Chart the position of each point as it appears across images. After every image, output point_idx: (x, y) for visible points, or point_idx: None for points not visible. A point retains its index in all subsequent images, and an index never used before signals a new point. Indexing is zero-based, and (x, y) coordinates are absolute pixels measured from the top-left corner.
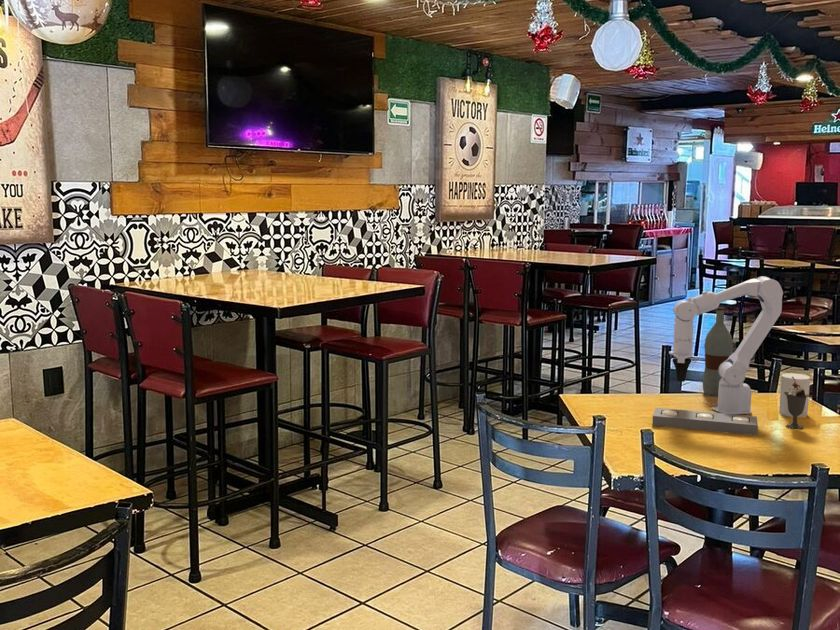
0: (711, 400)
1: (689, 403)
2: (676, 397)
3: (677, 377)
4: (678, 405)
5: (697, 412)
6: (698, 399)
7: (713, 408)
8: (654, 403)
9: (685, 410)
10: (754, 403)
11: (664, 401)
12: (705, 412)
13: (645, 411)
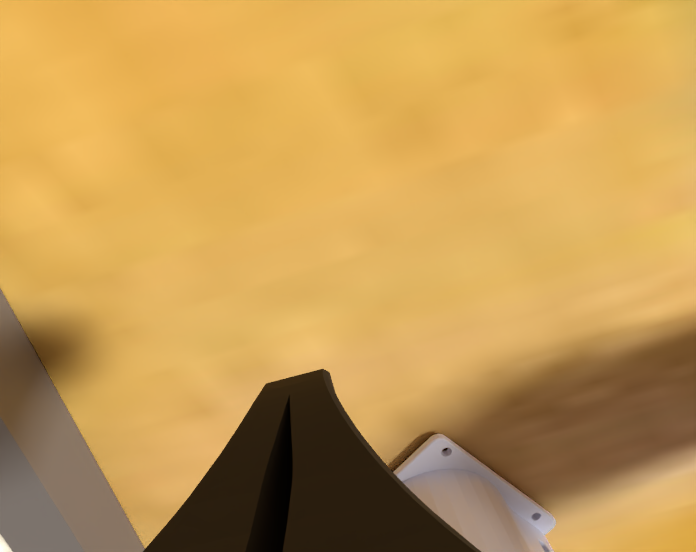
0: (673, 362)
1: (532, 270)
2: (684, 127)
3: (246, 421)
4: (433, 221)
5: (18, 514)
6: (673, 287)
7: (421, 452)
8: (396, 16)
9: (3, 435)
10: (679, 547)
11: (510, 78)
12: (66, 550)
13: (58, 35)
